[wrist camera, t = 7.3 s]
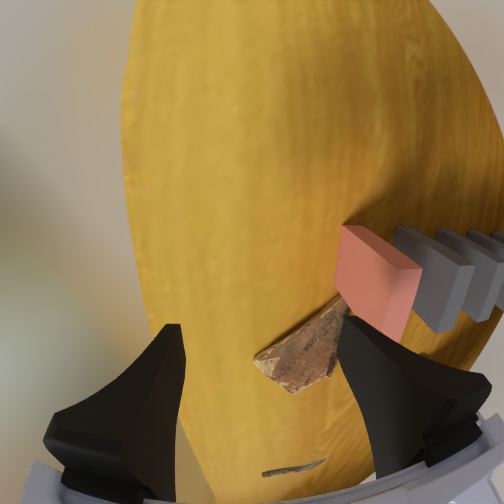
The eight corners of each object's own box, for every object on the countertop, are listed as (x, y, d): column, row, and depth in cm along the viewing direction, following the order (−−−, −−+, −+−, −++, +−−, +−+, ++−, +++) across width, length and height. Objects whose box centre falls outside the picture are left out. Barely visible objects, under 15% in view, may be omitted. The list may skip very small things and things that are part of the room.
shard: (347, 281, 23) (356, 291, 21) (380, 329, 25) (388, 340, 23) (248, 351, 24) (250, 365, 23) (294, 387, 27) (297, 400, 25)
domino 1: (411, 227, 21) (475, 264, 13) (400, 280, 23) (452, 329, 15) (395, 226, 21) (459, 266, 13) (384, 281, 22) (435, 334, 15)
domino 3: (477, 230, 22) (531, 260, 14) (466, 274, 23) (513, 310, 16) (468, 230, 21) (524, 260, 14) (457, 275, 23) (505, 313, 16)
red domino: (362, 225, 20) (422, 268, 13) (353, 283, 22) (399, 342, 15) (341, 224, 20) (397, 269, 13) (333, 284, 22) (375, 346, 15)
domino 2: (449, 228, 21) (508, 262, 14) (437, 277, 23) (488, 319, 16) (436, 228, 21) (498, 263, 14) (425, 278, 23) (476, 322, 15)
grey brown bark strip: (325, 465, 37) (332, 453, 36) (326, 470, 36) (334, 458, 35) (260, 474, 36) (263, 464, 34) (261, 480, 35) (264, 470, 33)
